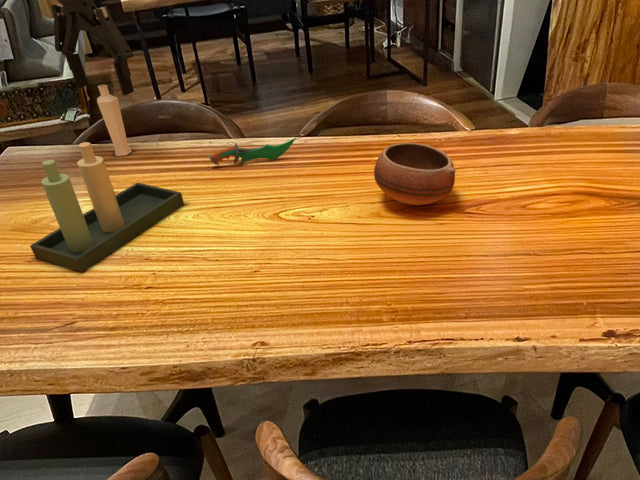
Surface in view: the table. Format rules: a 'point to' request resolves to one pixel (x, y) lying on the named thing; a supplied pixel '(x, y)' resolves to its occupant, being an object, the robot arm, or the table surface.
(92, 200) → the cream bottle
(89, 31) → the robot arm
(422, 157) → the bowl
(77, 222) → the sage bottle
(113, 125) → the perfume bottle
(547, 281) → the table surface
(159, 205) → the tray
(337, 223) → the table surface
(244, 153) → the knife
